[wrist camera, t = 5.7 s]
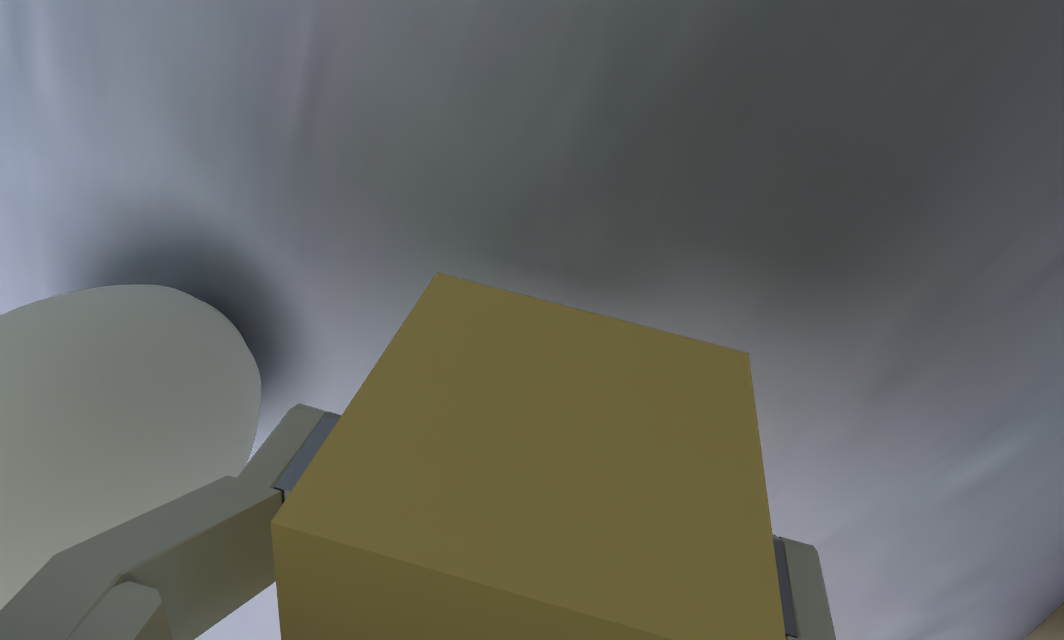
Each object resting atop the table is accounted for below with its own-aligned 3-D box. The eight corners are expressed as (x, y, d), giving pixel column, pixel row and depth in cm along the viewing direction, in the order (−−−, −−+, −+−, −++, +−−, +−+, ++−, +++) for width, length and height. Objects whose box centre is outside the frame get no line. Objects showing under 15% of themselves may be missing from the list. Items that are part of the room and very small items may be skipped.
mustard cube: (436, 272, 10) (269, 522, 6) (748, 353, 10) (789, 674, 6) (415, 481, 13) (291, 748, 9) (656, 550, 13) (642, 858, 9)
